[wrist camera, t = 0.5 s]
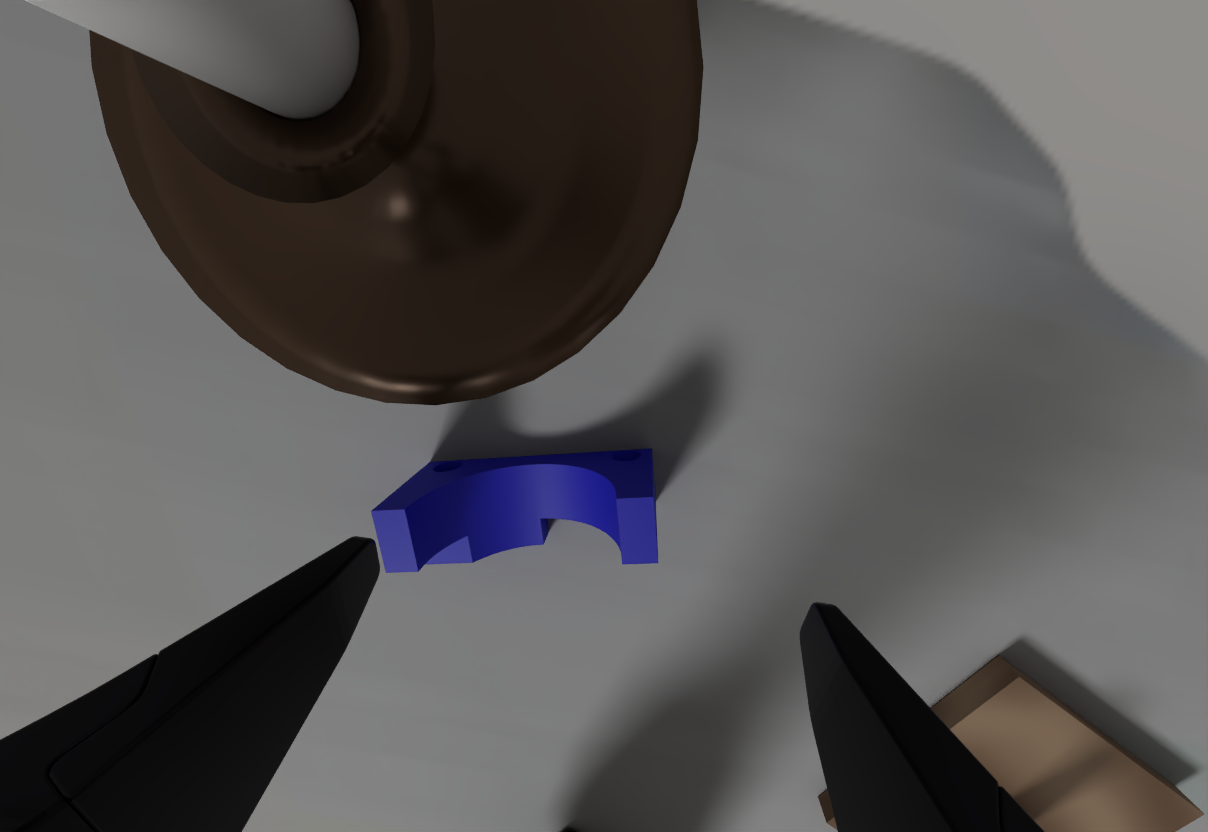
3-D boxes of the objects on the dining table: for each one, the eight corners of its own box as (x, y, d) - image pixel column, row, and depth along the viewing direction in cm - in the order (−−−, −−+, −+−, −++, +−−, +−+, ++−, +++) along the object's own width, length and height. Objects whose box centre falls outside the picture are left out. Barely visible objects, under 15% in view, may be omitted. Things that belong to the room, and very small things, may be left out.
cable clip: (446, 534, 27) (393, 601, 22) (431, 460, 26) (371, 510, 21) (657, 525, 26) (660, 594, 20) (651, 447, 25) (653, 496, 19)
